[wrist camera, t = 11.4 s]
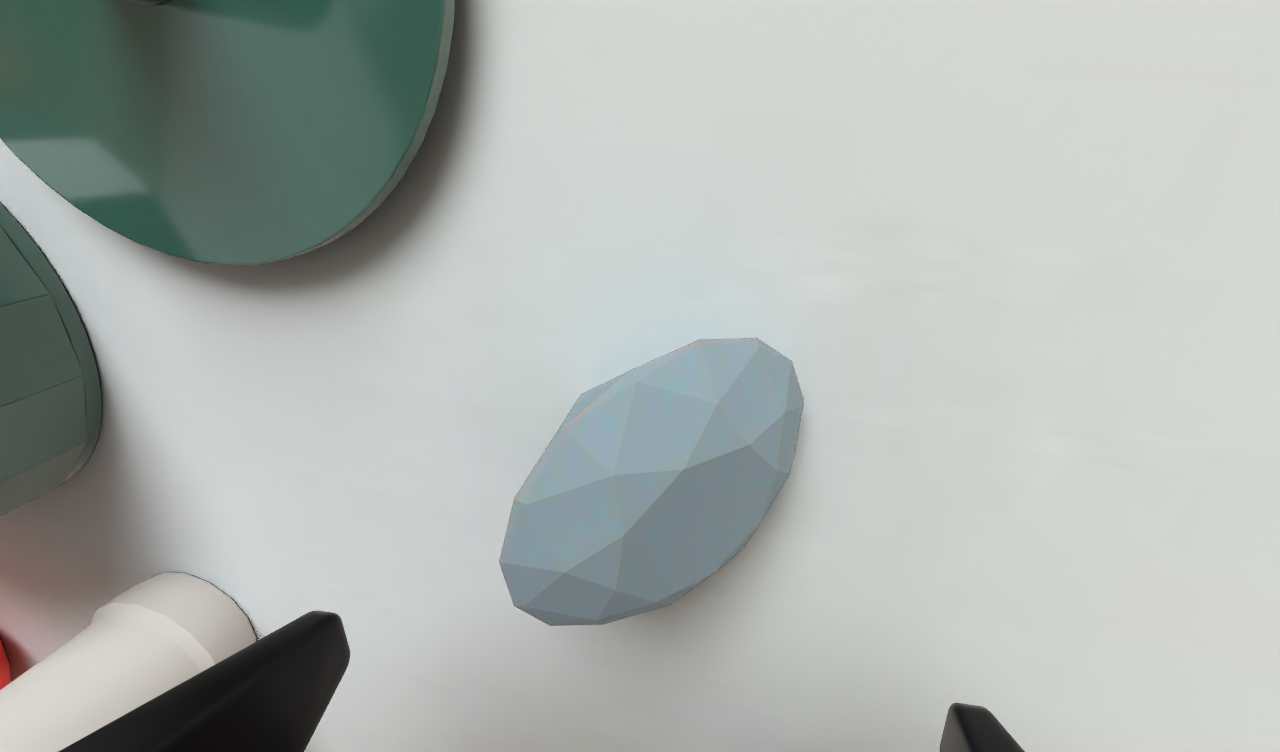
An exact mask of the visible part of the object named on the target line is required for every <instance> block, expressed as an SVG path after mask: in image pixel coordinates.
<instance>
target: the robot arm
mask: <svg viewBox="0 0 1280 752" xmlns="http://www.w3.org/2000/svg"><path fill="white" fill-rule="evenodd" d="M349 659H350V649H349V645H348V642H347V638H346V635H345V631H344V627H343V624H342V620H341V618H340V617H339V616H338V615H337V614H335V613H330V612H323V611H312V612H309V613H307V614H305V615H303V616H301V617H300V618H298V619H296V620H294V621H292V622H291V623H289V624H287V625H285V626H283V627H282V628H280V629H278V630H276V631H274V632H273V633H271V634H269V635H267V636H265V637H264V638H262V639H260V640H258V641H256V642H255V643H253V644H251V645H249V646H247V647H246V648H244V649H242V650H240V651H238V652H237V653H235V654H233V655H231V656H229V657H228V658H226V659H224V660H222V661H220V662H219V663H217V664H215V665H213V666H211V667H210V668H208V669H206V670H204V671H202V672H201V673H199V674H197V675H195V676H193V677H192V678H190V679H188V680H186V681H184V682H183V683H181V684H179V685H177V686H175V687H174V688H172V689H170V690H168V691H166V692H165V693H163V694H161V695H159V696H157V697H156V698H154V699H152V700H150V701H148V702H147V703H145V704H143V705H141V706H139V707H138V708H136V709H134V710H132V711H130V712H129V713H127V714H125V715H123V716H121V717H120V718H118V719H116V720H114V721H112V722H111V723H109V724H107V725H105V726H103V727H102V728H100V729H98V730H96V731H94V732H93V733H91V734H89V735H87V736H85V737H84V738H82V739H80V740H78V741H76V742H75V743H73V744H71V745H69V746H67V747H66V748H64V749H62V750H60V751H58V752H304V751H305V749H306V747H307V745H308V743H309V741H310V739H311V737H312V735H313V733H314V731H315V729H316V727H317V725H318V723H319V722H320V720H321V718H322V716H323V714H324V712H325V710H326V708H327V706H328V704H329V702H330V700H331V698H332V696H333V694H334V692H335V690H336V688H337V686H338V684H339V683H340V681H341V679H342V677H343V675H344V673H345V671H346V669H347V666H348V663H349ZM940 752H1024V750H1023V749H1022V748H1021V747H1020V746H1019V745H1018V743H1017V742H1016V741H1015V740H1014V739H1013V738H1012V737H1011V735H1010V734H1009V733H1008V732H1007V731H1006V730H1005V728H1004V727H1003V726H1002V725H1001V724H1000V723H999V721H998V720H997V719H996V718H995V717H994V716H993V714H992V713H991V712H990V711H988V710H987V709H986V708H984V707H981V706H975V705H968V704H961V703H954V704H952V705H951V706H950V708H949V710H948V714H947V718H946V723H945V727H944V731H943V735H942V739H941V744H940Z"/></svg>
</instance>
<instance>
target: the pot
mask: <svg viewBox="0 0 1280 752" xmlns="http://www.w3.org/2000/svg"><path fill="white" fill-rule="evenodd" d="M101 409H102V399H101V389H100V380H99V375H98V371H97V367H96V362H95V358H94V354H93V351H92V348H91V345H90V343H89V340H88V337H87V334H86V331H85V329H84V326H83V324H82V322H81V320H80V318H79V315H78V313H77V311H76V309H75V306H74V304H73V302H72V301H71V299H70V297H69V295H68V293H67V292H66V290H65V288H64V286H63V285H62V283H61V281H60V279H59V277H58V276H57V274H56V273H55V271H54V270H53V268H52V267H51V265H50V264H49V262H48V261H47V259H46V258H45V256H44V255H43V254H42V252H41V251H40V249H39V248H38V247H37V245H36V244H35V243H34V242H33V240H32V239H31V238H30V237H29V235H28V234H27V233H26V232H25V230H24V229H23V228H22V226H21V225H20V224H19V223H18V222H17V221H16V220H15V219H14V217H13V216H12V215H11V214H10V213H9V212H8V211H7V210H6V209H5V208H4V207H3V206H2V204H1V203H0V516H2V515H4V514H6V513H8V512H10V511H12V510H14V509H16V508H18V507H20V506H22V505H24V504H26V503H27V502H29V501H31V500H33V499H35V498H37V497H39V496H41V495H43V494H45V493H47V492H49V491H51V490H53V489H54V488H56V487H58V486H60V485H62V484H63V483H65V481H66V480H67V479H69V478H71V477H72V476H73V475H74V474H75V473H76V472H77V471H79V470H80V469H81V468H82V467H83V465H84V464H85V462H86V461H87V460H88V458H89V457H90V455H91V453H92V451H93V449H94V446H95V444H96V441H97V439H98V434H99V429H100V424H101Z"/></svg>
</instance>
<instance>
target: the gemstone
mask: <svg viewBox="0 0 1280 752" xmlns="http://www.w3.org/2000/svg"><path fill="white" fill-rule="evenodd" d="M802 410H803V396H802V393H801V389H800V386H799V383H798V380H797V377H796V373H795V370H794V367H793V364H792V361H791V360H789V359H788V358H786V357H785V356H783V355H782V354H780V353H779V352H777V351H776V350H774V349H773V348H771V347H770V346H768V345H767V344H765V343H764V342H762V341H761V340H759V339H758V338H742V339H704V340H698V341H695V342H693V343H691V344H689V345H686V346H684V347H682V348H680V349H677V350H675V351H673V352H670V353H668V354H666V355H664V356H661V357H659V358H657V359H655V360H652V361H650V362H648V363H646V364H643V365H641V366H639V367H637V368H634V369H632V370H630V371H628V372H626V373H624V374H622V375H620V376H618V377H616V378H614V379H612V380H610V381H608V382H606V383H604V384H601V385H599V386H597V387H595V388H593V389H591V390H589V391H587V392H585V393H583V394H581V395H580V397H579V398H578V400H577V401H576V403H575V405H574V406H573V408H572V409H571V411H570V412H569V414H568V415H567V417H566V419H565V420H564V422H563V423H562V425H561V426H560V428H559V429H558V431H557V433H556V434H555V436H554V437H553V439H552V440H551V442H550V443H549V445H548V447H547V448H546V450H545V451H544V453H543V454H542V456H541V457H540V459H539V461H538V462H537V464H536V465H535V467H534V468H533V470H532V471H531V473H530V475H529V476H528V478H527V479H526V481H525V482H524V484H523V485H522V487H521V489H520V490H519V492H518V493H517V495H516V496H515V498H514V502H513V507H512V511H511V515H510V519H509V523H508V527H507V531H506V535H505V539H504V544H503V548H502V552H501V556H500V560H499V563H500V566H501V569H502V572H503V575H504V578H505V580H506V583H507V586H508V589H509V592H510V595H511V598H512V601H513V604H514V606H516V607H517V608H519V609H521V610H523V611H525V612H526V613H528V614H530V615H532V616H534V617H535V618H537V619H539V620H541V621H543V622H544V623H546V624H548V625H550V626H555V625H601V624H606V623H610V622H613V621H616V620H620V619H623V618H627V617H630V616H633V615H637V614H640V613H644V612H647V611H650V610H654V609H657V608H660V607H664V606H667V605H670V604H671V603H673V602H674V601H676V600H677V599H678V598H680V597H681V596H683V595H684V594H685V593H687V592H688V591H690V590H691V589H692V588H694V587H695V586H697V585H698V584H699V583H701V582H702V581H704V580H705V579H706V578H708V577H709V576H711V575H712V574H713V573H714V572H716V571H717V570H718V569H719V568H720V567H721V566H723V565H724V564H725V563H726V562H727V561H728V560H730V559H731V558H732V557H733V556H734V555H735V554H737V553H738V552H739V551H740V550H741V549H742V548H743V547H745V545H746V543H747V542H748V540H749V539H750V537H751V536H752V534H753V533H754V531H755V530H756V528H757V527H758V525H759V523H760V522H761V520H762V519H763V517H764V515H765V514H766V512H767V510H768V509H769V507H770V505H771V504H772V502H773V500H774V499H775V497H776V496H777V494H778V492H779V491H780V489H781V487H782V486H783V484H784V482H785V481H786V479H787V477H788V476H789V474H790V471H791V466H792V461H793V456H794V451H795V446H796V441H797V436H798V431H799V425H800V420H801V415H802Z"/></svg>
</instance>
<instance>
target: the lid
mask: <svg viewBox="0 0 1280 752" xmlns="http://www.w3.org/2000/svg"><path fill="white" fill-rule="evenodd" d="M454 15H455V0H0V138H1V140H2V141H3V142H4V143H5V144H6V145H7V146H8V147H9V148H10V150H11V151H12V152H13V153H14V154H15V155H16V156H17V157H18V158H19V159H20V160H21V161H22V162H23V163H24V164H25V165H26V166H28V167H29V168H30V169H31V170H32V171H33V172H34V173H35V174H36V175H37V176H38V177H39V178H40V179H41V180H42V181H43V182H44V183H46V184H47V185H48V186H49V187H51V188H52V189H53V190H55V191H56V192H57V193H58V194H60V195H61V196H62V197H63V198H65V199H66V200H67V201H68V202H70V203H71V204H72V205H73V206H75V207H76V208H78V209H79V210H81V211H82V212H84V213H85V214H87V215H88V216H90V217H92V218H93V219H95V220H96V221H98V222H99V223H101V224H102V225H104V226H105V227H107V228H109V229H111V230H113V231H115V232H117V233H119V234H121V235H123V236H125V237H127V238H129V239H131V240H133V241H135V242H136V243H139V244H141V245H144V246H147V247H149V248H152V249H155V250H157V251H160V252H163V253H165V254H168V255H172V256H176V257H180V258H184V259H189V260H193V261H197V262H201V263H211V264H221V265H232V266H234V265H252V264H264V263H269V262H273V261H278V260H282V259H287V258H291V257H295V256H298V255H302V254H305V253H307V252H309V251H312V250H314V249H317V248H319V247H322V246H324V245H327V244H329V243H331V242H333V241H334V240H336V239H337V238H339V237H341V236H342V235H344V234H345V233H347V232H349V231H350V230H352V229H353V228H355V227H357V226H358V225H359V224H360V223H361V222H362V221H363V220H364V219H365V218H367V217H368V216H369V215H370V214H371V213H372V212H373V211H374V210H376V209H377V208H378V207H379V206H380V205H381V204H382V203H383V201H384V200H385V199H386V198H387V196H388V195H389V194H390V193H391V191H392V190H393V189H394V188H395V187H396V185H397V184H398V183H399V182H400V180H401V179H402V178H403V176H404V174H405V172H406V171H407V169H408V167H409V166H410V164H411V162H412V160H413V159H414V157H415V155H416V154H417V152H418V150H419V149H420V147H421V145H422V142H423V140H424V137H425V135H426V133H427V130H428V128H429V125H430V123H431V120H432V118H433V116H434V113H435V111H436V108H437V104H438V100H439V97H440V93H441V89H442V85H443V82H444V78H445V74H446V71H447V67H448V60H449V53H450V46H451V39H452V32H453V26H454Z"/></svg>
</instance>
